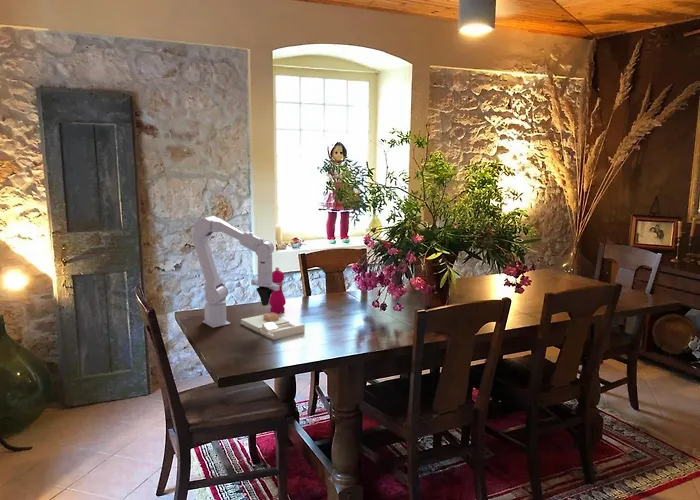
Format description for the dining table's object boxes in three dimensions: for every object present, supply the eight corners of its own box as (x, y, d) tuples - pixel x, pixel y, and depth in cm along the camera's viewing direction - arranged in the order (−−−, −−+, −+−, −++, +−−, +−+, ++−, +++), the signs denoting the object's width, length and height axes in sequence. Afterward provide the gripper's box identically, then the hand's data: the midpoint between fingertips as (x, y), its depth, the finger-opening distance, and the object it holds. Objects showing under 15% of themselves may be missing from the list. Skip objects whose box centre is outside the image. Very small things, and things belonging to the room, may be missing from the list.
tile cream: (261, 328, 219) (262, 323, 219) (271, 326, 222) (272, 321, 222) (267, 334, 216) (268, 329, 216) (277, 331, 219) (278, 327, 218)
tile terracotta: (263, 318, 231) (263, 313, 230) (272, 316, 234) (272, 312, 233) (269, 321, 227) (269, 316, 227) (278, 319, 230) (278, 314, 230)
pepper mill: (265, 312, 246) (265, 267, 243) (275, 308, 253) (275, 264, 249) (279, 314, 243) (279, 269, 240) (288, 310, 249) (288, 266, 246)
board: (241, 323, 230) (241, 319, 229) (270, 317, 239) (270, 313, 238) (258, 332, 219) (258, 327, 219) (288, 326, 228) (288, 321, 228)
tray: (259, 333, 219) (259, 324, 218) (289, 326, 228) (289, 318, 227) (274, 340, 211) (274, 331, 210) (304, 333, 220) (304, 324, 219)
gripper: (245, 270, 223) (245, 303, 226) (269, 276, 214) (269, 310, 217) (258, 267, 229) (258, 300, 231) (283, 273, 220) (283, 307, 222)
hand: (265, 305), depth 224 cm, fingers closed
